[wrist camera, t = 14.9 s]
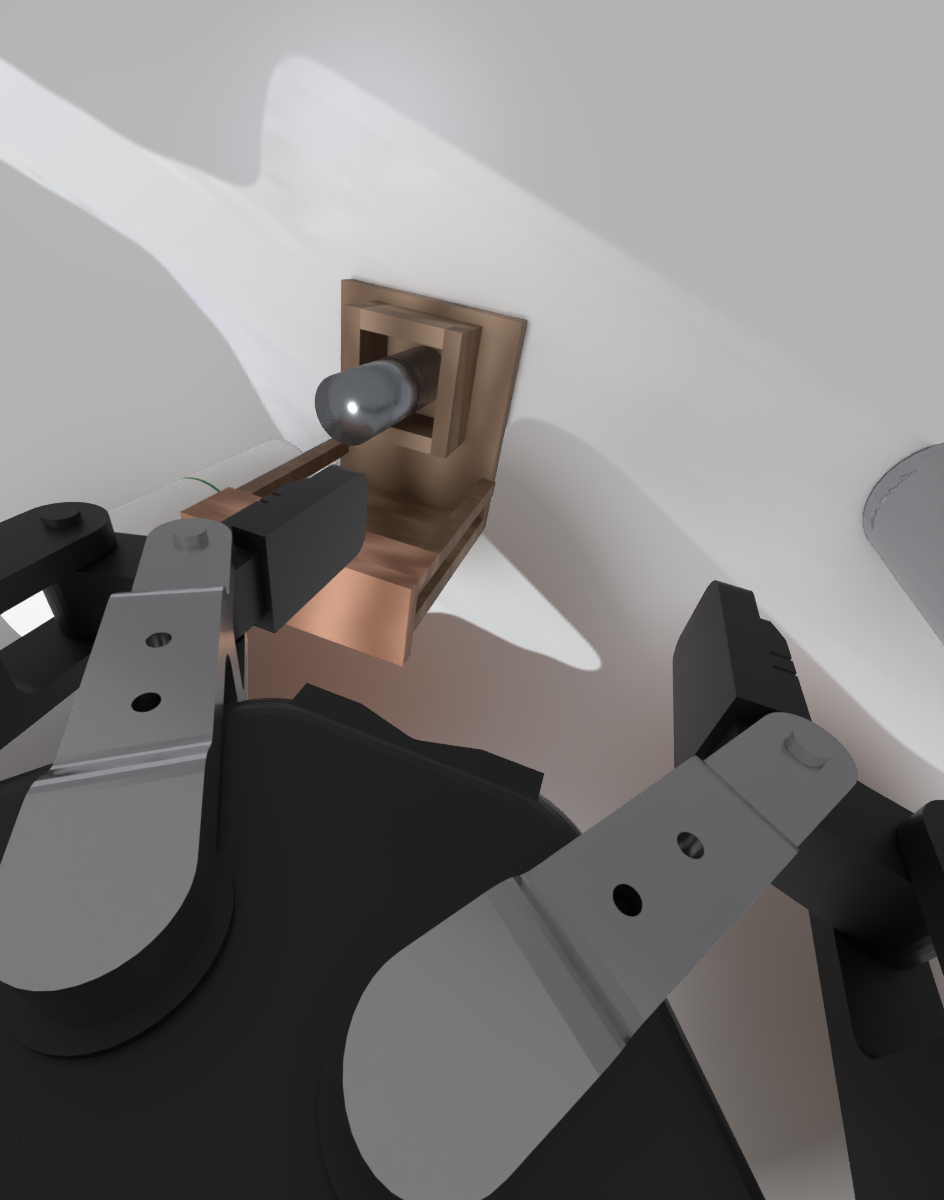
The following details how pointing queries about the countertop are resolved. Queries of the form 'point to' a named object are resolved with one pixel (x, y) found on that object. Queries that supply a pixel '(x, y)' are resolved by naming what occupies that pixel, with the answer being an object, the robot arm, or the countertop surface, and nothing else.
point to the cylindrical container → (169, 510)
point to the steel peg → (377, 394)
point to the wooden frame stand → (406, 467)
